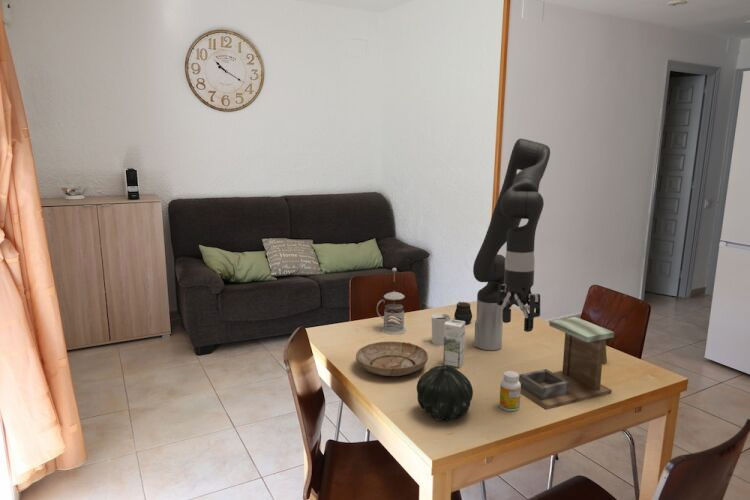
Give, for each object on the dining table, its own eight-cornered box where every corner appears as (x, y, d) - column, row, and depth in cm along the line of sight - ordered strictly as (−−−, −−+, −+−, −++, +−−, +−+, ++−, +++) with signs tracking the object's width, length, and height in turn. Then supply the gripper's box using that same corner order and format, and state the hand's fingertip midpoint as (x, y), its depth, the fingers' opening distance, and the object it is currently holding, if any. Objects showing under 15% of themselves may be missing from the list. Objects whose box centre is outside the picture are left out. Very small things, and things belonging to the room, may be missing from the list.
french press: (407, 334, 199) (407, 270, 195) (376, 334, 200) (376, 270, 195) (406, 326, 209) (406, 265, 204) (376, 325, 209) (376, 264, 204)
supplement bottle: (496, 402, 146) (498, 370, 144) (515, 401, 147) (517, 369, 145) (503, 412, 141) (504, 378, 139) (522, 411, 142) (524, 377, 140)
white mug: (451, 341, 193) (452, 315, 191) (445, 347, 187) (446, 320, 185) (434, 338, 196) (435, 312, 194) (428, 344, 190) (428, 317, 188)
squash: (446, 374, 152) (425, 347, 142) (489, 393, 141) (470, 365, 132) (420, 416, 147) (397, 391, 137) (463, 439, 136) (441, 414, 127)
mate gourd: (473, 321, 215) (474, 297, 213) (469, 326, 208) (470, 302, 206) (456, 318, 218) (457, 295, 216) (451, 324, 211) (452, 300, 209)
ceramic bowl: (442, 367, 170) (443, 353, 169) (392, 391, 154) (392, 375, 153) (391, 348, 186) (391, 335, 185) (341, 367, 170) (340, 353, 169)
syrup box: (464, 362, 174) (465, 320, 171) (459, 368, 169) (460, 325, 166) (447, 359, 176) (449, 318, 174) (442, 365, 171) (443, 323, 168)
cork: (608, 365, 171) (611, 333, 169) (589, 363, 172) (591, 331, 170) (604, 357, 177) (607, 327, 175) (585, 356, 178) (588, 325, 176)
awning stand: (546, 409, 142) (550, 345, 139) (509, 385, 157) (512, 326, 153) (611, 393, 152) (617, 332, 148) (570, 371, 166) (575, 316, 163)
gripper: (549, 271, 133) (546, 332, 136) (512, 261, 146) (510, 317, 148) (527, 274, 130) (524, 336, 133) (490, 264, 142) (489, 321, 145)
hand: (517, 326), depth 141 cm, fingers open, 8 cm apart
